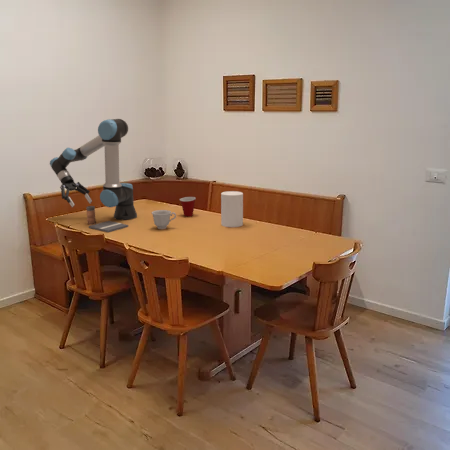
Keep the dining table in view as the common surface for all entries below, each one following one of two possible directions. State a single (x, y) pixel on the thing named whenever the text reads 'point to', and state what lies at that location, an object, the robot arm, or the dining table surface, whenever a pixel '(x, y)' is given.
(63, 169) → the robot arm
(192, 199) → the plastic cup
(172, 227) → the dining table surface
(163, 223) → the teacup
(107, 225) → the board
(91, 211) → the spice shaker
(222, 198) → the canister
